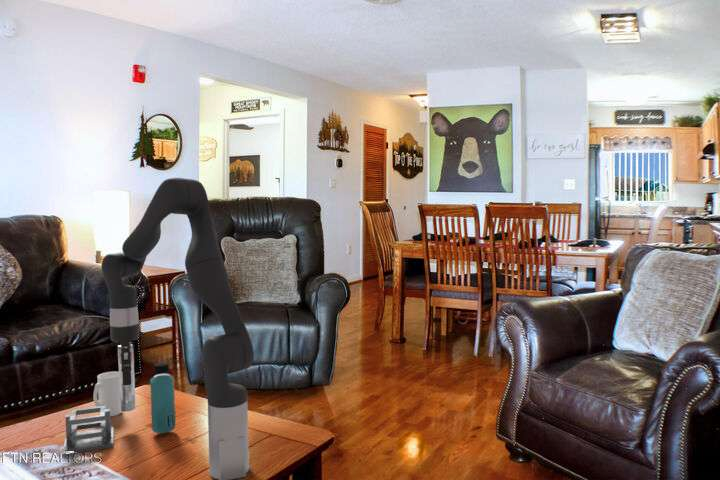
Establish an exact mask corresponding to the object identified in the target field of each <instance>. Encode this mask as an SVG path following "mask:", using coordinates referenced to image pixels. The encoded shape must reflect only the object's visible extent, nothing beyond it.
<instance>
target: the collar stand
mask: <svg viewBox="0 0 720 480" xmlns="http://www.w3.org/2000/svg"><path fill="white" fill-rule="evenodd" d="M95 413H99V414H97V415H91V416H84V417H77V416H78V415H79V416H80V415H88V414H95ZM64 418H65V434H66V435H65V438H64V442H63V447H62V451H74V452H77V453H76V454H78V453H79V454H80V453H86V452H92V451H98V450H104V449H105V450H106V449H111V448H114V438H115V437H114V435H115V432H114V426H112V425H111V424H112V423H111V416H110V409H106V406H98V407H96V406H93V407H92V406H91V407H85V408H78V409H77V408H76V409H75V408H74V409H72V410H71V413H68V414H65V417H64ZM93 428H94V429H93ZM87 429H88V430H87ZM79 430H80V431H79ZM62 451H61V452H62Z"/></svg>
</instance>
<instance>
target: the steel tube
mask: <svg viewBox="0 0 720 480" xmlns="http://www.w3.org/2000/svg"><path fill="white" fill-rule="evenodd" d="M118 348H120V347H118V346H117V349H118ZM117 357H118V358H117V360H118V372H119V385H120V407H121V411H122V412H124V413H125V412H132V411H135V410H136V408H137V406H136V405H137V404H136V388H135V387H136V384H135V359H134V352H133V353H132V357H133V362H132V363H131V368H132V370H131V384H130V385H123V376H122V371H121V369H122V364H120V361H119V353H118V352H117ZM123 367H129V364H126V365H123Z"/></svg>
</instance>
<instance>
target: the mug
mask: <svg viewBox="0 0 720 480" xmlns="http://www.w3.org/2000/svg"><path fill="white" fill-rule="evenodd" d="M96 378H97V383H95V385H94V388H93V398H92V399H93V403H94V407H98V406H106V409H110V417H115V416H118V415H120V414H121V413H122V412H123V411H121V407H120V385H119V371H107V372H102V373H100V374H98V375H97V377H96Z"/></svg>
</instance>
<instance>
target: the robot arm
mask: <svg viewBox="0 0 720 480" xmlns="http://www.w3.org/2000/svg"><path fill="white" fill-rule="evenodd" d="M208 198H209V197H208V193H207V191H206V189H205V186H204V185H203V184H202V182H200V180H196V179H191V178H182V177H173V176H172V177H167V178H166V179H164V180H163V181H162V182H161V183H160V185H159V186H158V188H157V189H156V191H155V192H154V195H153V197H152V198H151V200H150V203H149V204H148V205H147V208H146V210H145V212H144V214H143V216H142V217H141V220H140V222H138V224H137V225H136V227H135V228H134V229H133V230H132V232H131V233H130V234H129V235H128V236H127V238H126V239H125V240H124V242H123V244H122V247H121V248H122V251H121V252H111V253H108V254H106V255H105V256H104V257H103V259H102V261H101V265H100V266H101V272H102V275H103V278H104V280H105V283H106V287H107V291H108V293H109V311H110V312H109V331H110V333H109V334H110V341H112V342H115V343H120V345H117V354H118V353H119V361H120V364H122V369H121V371H122V376H123V385H130V384H131V370H132V368H131V363H132V362H133V357H134V356H133V357H132V353H134V345H133V344H132V343H131V342H132V341H135V340H136V341H137V339H139V338H140V323H139V322H140V321H139V320H140V319H139V311H138V310H139V309H138V297H137V289H136V287H135V286H133V285H130V284H129V285H128V284H124V282H123V280H122V278H129V277H134V276H136V275H138V274H139V273H140V272H141V271H142V269H144V265H145V262H146V260H147V257H148V255H149V254H150V253H151V252H152V251H153V250H154V249H155V247H156V246H157V245H158V243H159V242H160V239H161V236H162V235H161V233H162V228H161V224H162V222H163V220H164V219H166V217H168V216H169V215H171V214H173V215H186V217H187V218H188V222H189V225H190V230H191V239H190V242H189V245H188V249H187V250H186V254H185V261H184V265H185V266H184V267H185V271H186V274H187V278H188V281H189V285H190V288H191V290H192V292H193V293H194V295H196V296H197V298H198V299H199V300H200V301H201V302H202V303H203V304H204V305H205V306H206V307H208V309H209V310H211V312H212V313H213V314H215V316H216V317H217V319H218V320H219V322H220V324H221V326H222V329H223V331H224V334H219V335H216V336H211V337H208V338H207V339H206V340H205V342H204V343H203V347H202V365H203V377H204V389H205V393H206V397H207V421H208V422H207V427H208V428H207V429H208V430H207V431H208V457H209V458H208V461H209V475H210V477H212V478H214V479H215V480H235V479H241V478H246V477H247V473H248V472H249V471H250V461H249V459H250V458H249V454H250V453H249V452H250V451H249V423H248V422H249V417H248V416H249V415H248V414H249V413H248V411H249V409H248V408H249V407H248V390H247V388H246V387H245V386H244V385H241V384H239V383H231V382H230V381H229V374H232V373H237V372H240V371H245V370H247V369H249V368H251V366H252V365H253V364H254V363H253V362H254V361H255V360H254V358H255V353H254V352H255V351H254V347H253V342H252V340H251V338H250V335H249V334H250V333H249V331H248V329H247V327H246V324H245V322H244V320H243V319H244V318H243V317H242V315H241V313H240V310H239V307H238V305H237V302H236V299H235V296H234V292H233V290H232V287H231V283H230V279H229V275H228V271H227V268H226V265H225V261H224V259H223V256H222V253H221V250H220V246H219V243H218V239H217V236H216V233H215V228H214V224H213V219H212V213H211V208H210V203H209V199H208ZM118 347H120V348H118ZM126 364H129V367H123V365H126Z"/></svg>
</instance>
